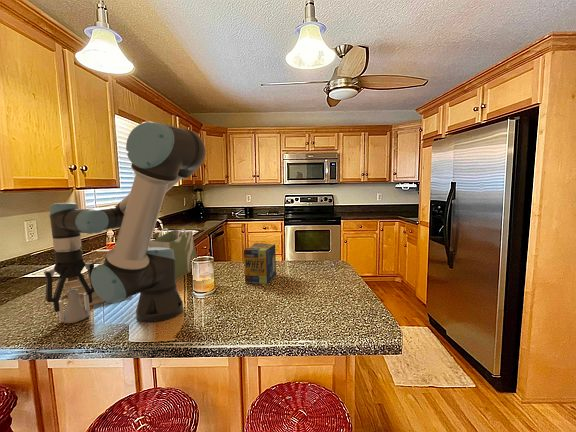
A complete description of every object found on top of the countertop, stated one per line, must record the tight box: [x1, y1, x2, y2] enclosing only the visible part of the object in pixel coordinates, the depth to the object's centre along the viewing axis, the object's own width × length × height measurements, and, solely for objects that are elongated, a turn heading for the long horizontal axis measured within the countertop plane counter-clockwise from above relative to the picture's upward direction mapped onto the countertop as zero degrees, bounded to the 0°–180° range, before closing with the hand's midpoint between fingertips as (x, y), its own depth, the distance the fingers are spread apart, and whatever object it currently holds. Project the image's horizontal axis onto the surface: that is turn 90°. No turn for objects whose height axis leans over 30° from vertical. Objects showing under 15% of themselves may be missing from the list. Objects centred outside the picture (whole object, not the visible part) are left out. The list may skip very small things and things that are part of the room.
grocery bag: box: [148, 227, 198, 281], centre depth 155 cm, size 32×14×23 cm, turn 175°
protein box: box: [243, 242, 277, 286], centre depth 141 cm, size 10×15×16 cm
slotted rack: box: [64, 277, 104, 308], centre depth 127 cm, size 22×18×5 cm
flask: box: [61, 289, 90, 324], centre depth 103 cm, size 7×7×10 cm
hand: (75, 316), depth 103 cm, fingers closed on flask, 7 cm apart
